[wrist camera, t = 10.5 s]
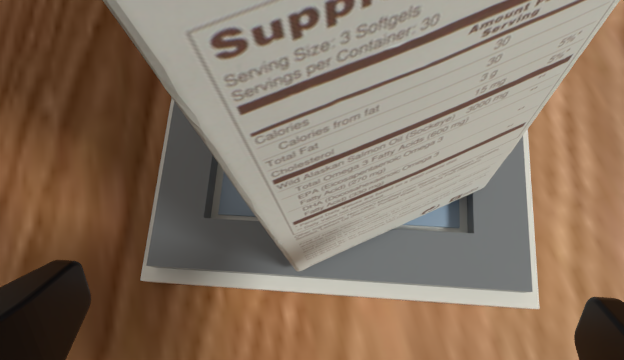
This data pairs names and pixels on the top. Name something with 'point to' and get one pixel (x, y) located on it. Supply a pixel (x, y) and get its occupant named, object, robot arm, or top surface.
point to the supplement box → (358, 99)
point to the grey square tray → (354, 261)
